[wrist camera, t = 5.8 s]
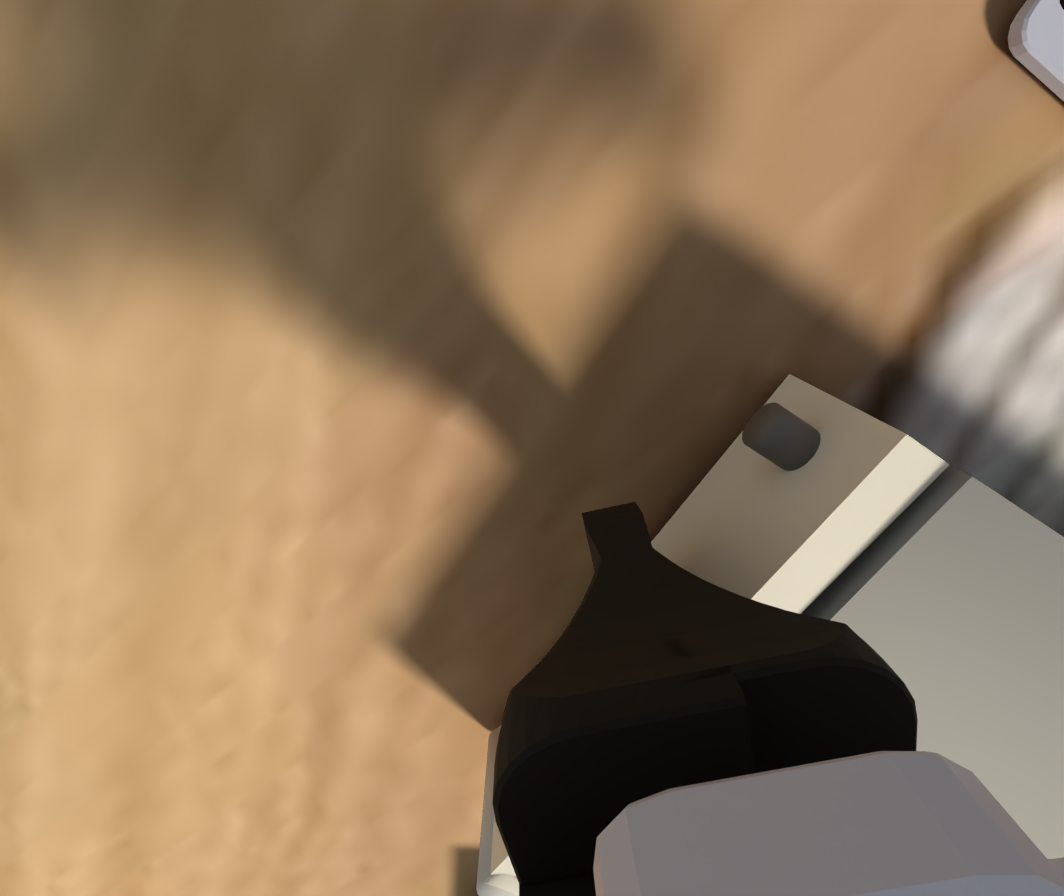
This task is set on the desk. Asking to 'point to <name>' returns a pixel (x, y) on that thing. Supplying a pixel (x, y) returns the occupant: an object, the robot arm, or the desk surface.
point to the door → (773, 524)
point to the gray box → (972, 639)
